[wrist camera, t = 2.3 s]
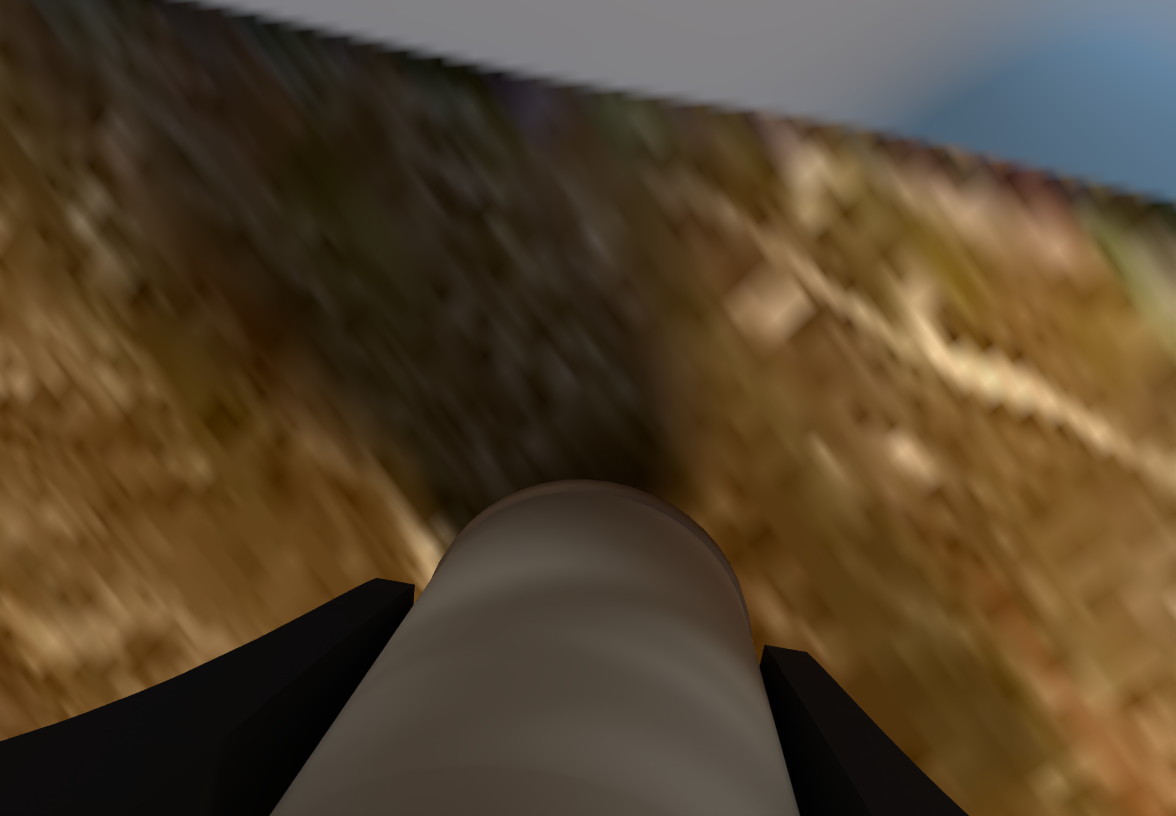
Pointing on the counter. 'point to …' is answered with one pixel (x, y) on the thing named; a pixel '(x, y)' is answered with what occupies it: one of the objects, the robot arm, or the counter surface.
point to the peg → (561, 676)
